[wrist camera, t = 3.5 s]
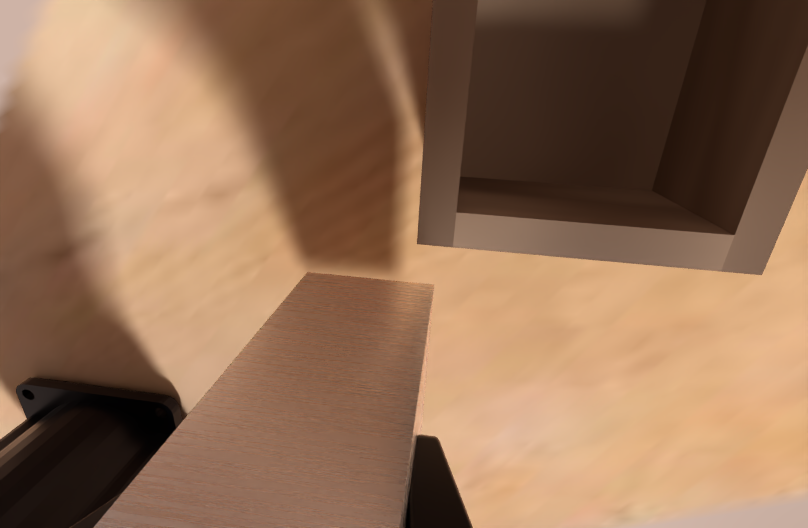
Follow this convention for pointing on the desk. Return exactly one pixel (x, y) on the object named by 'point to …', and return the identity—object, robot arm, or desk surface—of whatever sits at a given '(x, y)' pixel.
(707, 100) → the open wooden box
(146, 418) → the robot arm
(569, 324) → the desk surface
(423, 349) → the grey-ended wooden post
